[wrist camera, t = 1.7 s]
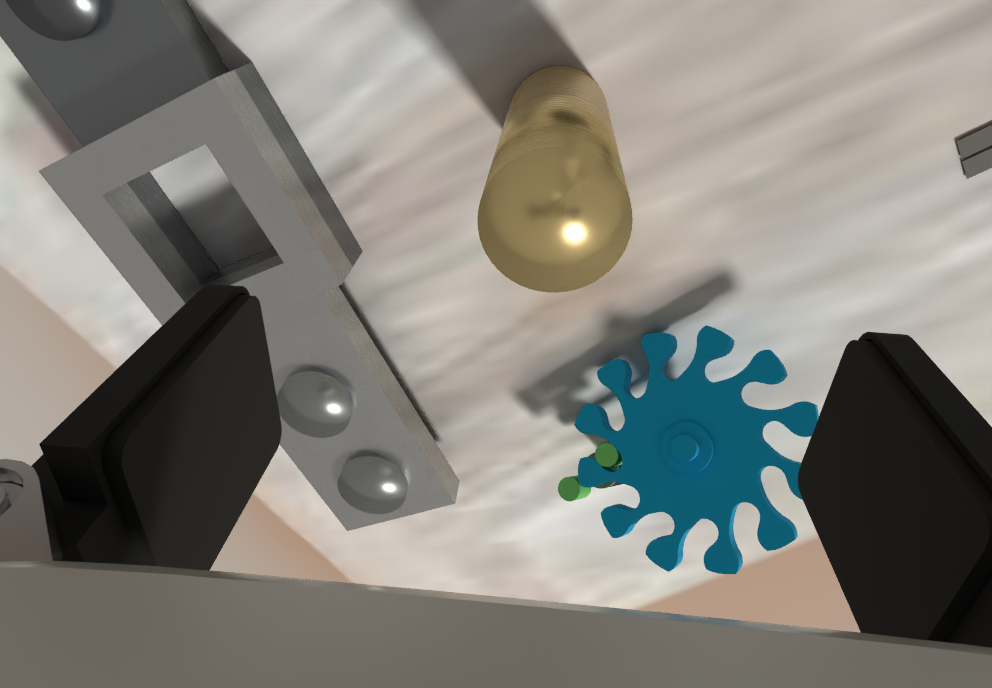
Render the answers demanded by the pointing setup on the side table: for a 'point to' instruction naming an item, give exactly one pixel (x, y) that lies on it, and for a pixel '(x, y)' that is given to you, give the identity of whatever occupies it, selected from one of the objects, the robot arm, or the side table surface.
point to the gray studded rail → (272, 201)
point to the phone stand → (973, 145)
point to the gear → (690, 450)
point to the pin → (556, 186)
